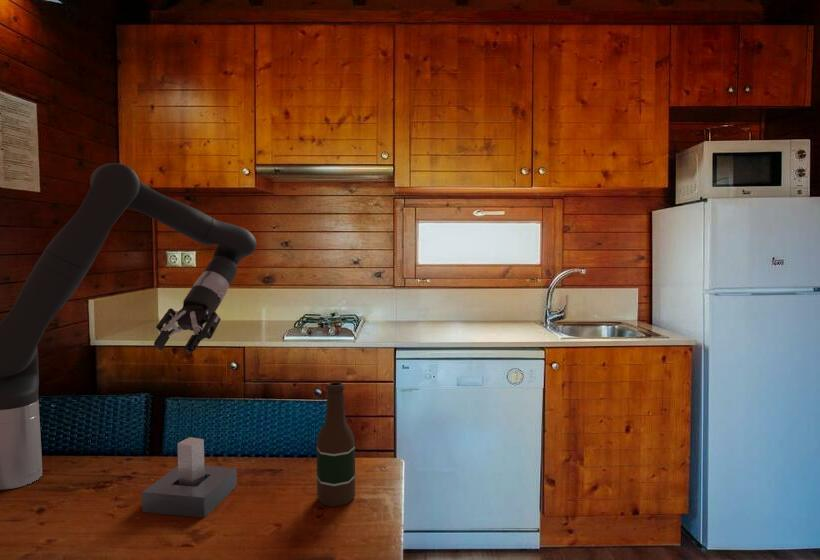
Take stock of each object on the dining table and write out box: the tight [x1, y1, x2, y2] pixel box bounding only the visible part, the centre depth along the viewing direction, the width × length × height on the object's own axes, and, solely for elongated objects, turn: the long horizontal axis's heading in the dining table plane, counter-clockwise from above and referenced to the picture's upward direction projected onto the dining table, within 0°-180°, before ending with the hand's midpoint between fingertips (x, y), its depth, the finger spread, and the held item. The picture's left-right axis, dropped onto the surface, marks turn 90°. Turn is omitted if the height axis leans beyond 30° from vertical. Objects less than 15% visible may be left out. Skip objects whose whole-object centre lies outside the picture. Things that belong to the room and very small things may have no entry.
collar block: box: [141, 465, 238, 518], centre depth 109 cm, size 13×13×4 cm
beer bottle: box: [316, 381, 356, 508], centre depth 109 cm, size 8×8×24 cm
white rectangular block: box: [177, 436, 205, 487], centre depth 109 cm, size 4×4×12 cm
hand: (172, 349), depth 120 cm, fingers open, 8 cm apart
